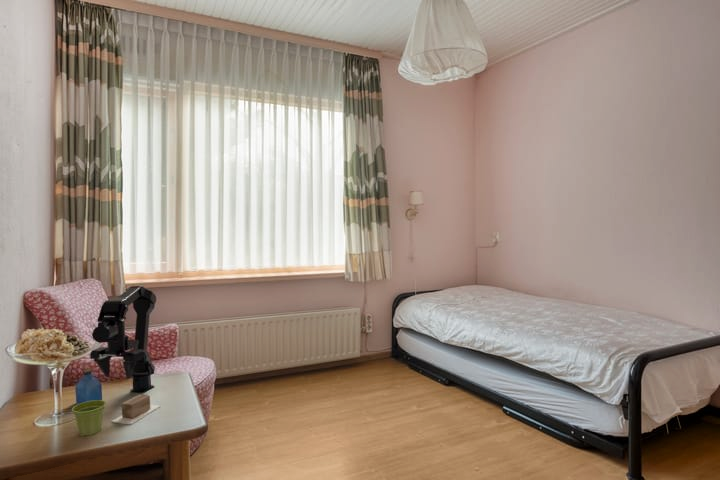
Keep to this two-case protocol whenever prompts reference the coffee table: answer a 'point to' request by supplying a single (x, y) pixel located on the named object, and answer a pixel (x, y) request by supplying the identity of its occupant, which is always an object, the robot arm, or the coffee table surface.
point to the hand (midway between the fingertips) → (118, 377)
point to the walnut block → (135, 406)
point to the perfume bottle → (88, 388)
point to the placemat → (131, 421)
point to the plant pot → (89, 416)
